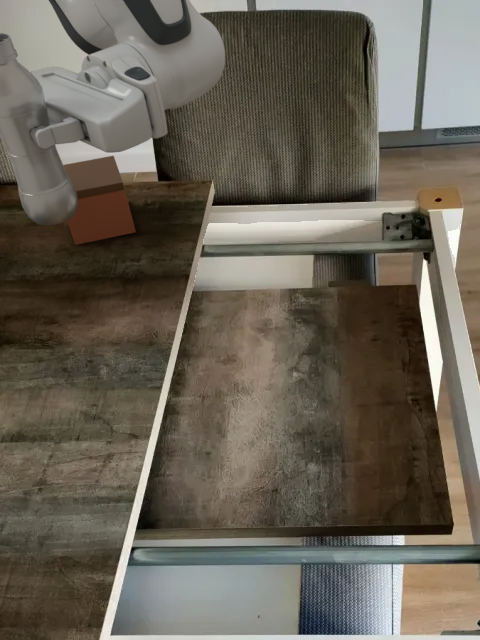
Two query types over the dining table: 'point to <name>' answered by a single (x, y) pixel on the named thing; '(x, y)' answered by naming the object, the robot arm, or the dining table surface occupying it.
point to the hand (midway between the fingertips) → (17, 131)
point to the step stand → (99, 201)
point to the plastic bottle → (31, 143)
